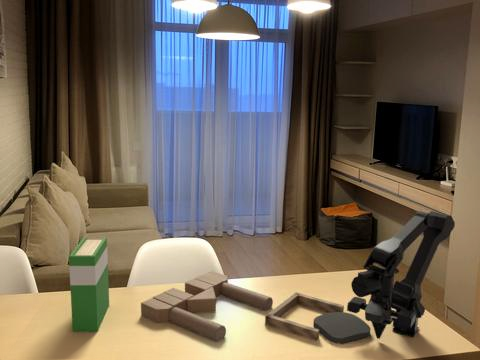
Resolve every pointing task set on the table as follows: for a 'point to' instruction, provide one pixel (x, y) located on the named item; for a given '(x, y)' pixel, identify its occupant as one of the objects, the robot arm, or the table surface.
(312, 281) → the table surface
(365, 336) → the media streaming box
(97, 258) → the hardback book
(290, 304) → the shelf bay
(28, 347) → the table surface
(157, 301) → the wooden block construction
